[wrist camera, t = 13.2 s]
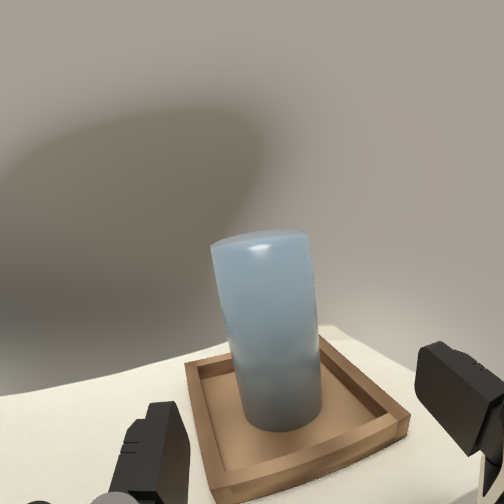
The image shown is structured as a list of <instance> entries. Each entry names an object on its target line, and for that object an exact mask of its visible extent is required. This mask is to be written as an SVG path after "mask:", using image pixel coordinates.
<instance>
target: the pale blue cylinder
mask: <svg viewBox="0 0 504 504" xmlns="http://www.w3.org/2000/svg"><path fill="white" fill-rule="evenodd" d="M210 248H211V254H212V259H213V265H214V270H215V276H216V281H217V287H218V292H219V296H220V302H221V308H222V313H223V318H224V323H225V328H226V333H227V337H228V343H229V347H230V352H231V357H232V362H233V366H234V371H235V376H236V380H237V385H238V389H239V394H240V398H241V403H242V407H243V412H244V416H245V418H246V420H247V421H248V422H249V423H250V424H251V425H253V426H254V427H256V428H258V429H261V430H264V431H268V432H288V431H293V430H296V429H299V428H302V427H304V426H306V425H307V424H309V423H310V422H312V421H313V420H314V419H315V418H316V417H317V416H318V415H319V413H320V411H321V409H322V384H321V366H320V350H319V335H318V322H317V310H316V298H315V287H314V276H313V266H312V257H311V248H310V238H309V232H307V231H305V230H301V229H276V230H265V231H257V232H251V233H246V234H241V235H236V236H232V237H229V238H226V239H223V240H220V241H218V242H215V243H214V244H212V245H211V247H210Z"/></svg>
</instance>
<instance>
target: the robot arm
mask: <svg viewBox="0 0 504 504" xmlns="http://www.w3.org/2000/svg"><path fill="white" fill-rule="evenodd" d="M415 393H416V396H417V398H418V399H419V401H420V402H421V403H422V404H423V405H424V406H425V408H426V409H427V410H428V411H429V412H430V413H431V414H432V416H433V417H434V418H435V419H436V420H437V421H438V422H439V424H440V425H441V426H442V427H443V428H444V429H445V430H446V432H447V433H448V434H449V435H450V436H451V437H452V439H453V440H454V441H455V442H456V443H457V444H458V446H459V447H460V448H461V449H462V450H463V451H464V453H465V454H466V455H467V456H468V457H469V456H471V455H473V454H474V453H476V452H478V451H479V450H481V451H482V452H483V455H482V457H481V462H480V477H479V487H478V496H477V503H476V504H504V382H503V381H502V380H501V379H500V378H498V377H497V376H496V375H494V374H493V373H492V372H490V371H489V370H488V369H485V367H484V366H483V365H481V364H480V363H477V361H476V360H474V359H473V358H472V357H471V356H469V355H468V354H466V353H463V352H460V351H457V350H453V349H451V348H450V347H449V346H447V345H446V344H445V343H443V342H441V341H438V342H436V343H433V344H430V345H427V346H424V347H422V348H420V350H419V353H418V361H417V369H416V377H415ZM123 443H124V445H122V448H121V451H120V453H121V455H119V458H118V461H117V464H116V468H115V471H114V474H113V478H112V481H111V485H110V488H109V491H108V493H105V494H102V495H100V496H99V497H97V498H96V499H95V500H94V501H92V503H91V504H187V503H188V484H189V468H190V442H189V438H188V435H187V432H186V429H185V427H184V424H183V421H182V419H181V416H180V413H179V411H178V408H177V405H176V403H175V402H174V401H168V402H156V403H150V404H149V406H148V410H147V414H146V417H145V419H136V420H135V422H134V423H133V424H132V425H131V426H130V427H129V428H128V430H127V432H126V435H125V438H124V441H123ZM28 504H50V503H48V502H45V501H33V502H30V503H28Z"/></svg>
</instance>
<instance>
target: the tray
mask: <svg viewBox="0 0 504 504" xmlns="http://www.w3.org/2000/svg"><path fill="white" fill-rule="evenodd" d="M318 335H319V334H318ZM319 350H320V366H321V384H322V409H321V411H320V413H319V415H318V416H317V417H316V418H315V419H314V420H313V421H312V422H310V423H309V424H307V425H306V426H304V427H302V428H299V429H296V430H293V431H288V432H268V431H264V430H261V429H258V428H256V427H254V426H253V425H251V424H250V423H249V422H248V421H247V420H246V418H245V416H244V412H243V407H242V403H241V398H240V394H239V389H238V385H237V380H236V376H235V371H234V366H233V362H232V357H231V353H227V354H223V355H219V356H215V357H210V358H206V359H201V360H197V361H192V362H188V363H184V365H185V371H186V377H187V383H188V389H189V394H190V400H191V405H192V411H193V416H194V421H195V426H196V431H197V436H198V441H199V445H200V450H201V454H202V459H203V463H204V468H205V472H206V476H207V480H208V484H209V488H210V491H211V493H212V495H213V498H214V500H215V502H216V504H237V503H241V502H245V501H249V500H253V499H256V498H260V497H263V496H267V495H270V494H273V493H277V492H280V491H283V490H286V489H289V488H292V487H295V486H298V485H301V484H303V483H306V482H309V481H312V480H314V479H317V478H319V477H322V476H325V475H327V474H329V473H332V472H334V471H337V470H339V469H341V468H344V467H346V466H348V465H350V464H353V463H355V462H357V461H359V460H361V459H363V458H365V457H367V456H369V455H372V454H374V453H376V452H377V451H379V450H381V449H383V448H385V447H387V446H389V445H391V444H393V443H395V442H396V441H398V440H400V439H402V438H404V437H405V436H407V431H408V426H409V421H410V416H411V414H410V413H409V412H408V411H407V410H406V409H404V408H403V407H402V406H401V405H400V404H398V403H397V402H396V401H395V400H394V399H393V398H391V397H390V396H389V395H388V394H387V393H386V392H385V391H383V390H382V389H381V388H380V387H379V386H378V385H376V384H375V383H374V382H373V381H372V380H371V379H369V378H368V377H367V376H366V375H365V374H364V373H363V372H361V371H360V370H359V369H358V368H357V367H356V366H354V365H353V364H352V363H351V362H350V361H349V360H348V359H346V358H345V357H344V356H343V355H342V354H341V353H340V352H338V351H337V350H336V349H335V348H334V347H333V346H332V345H330V344H329V343H328V342H327V341H326V340H325V339H324V338H322V337H321V336H320V335H319Z"/></svg>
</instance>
